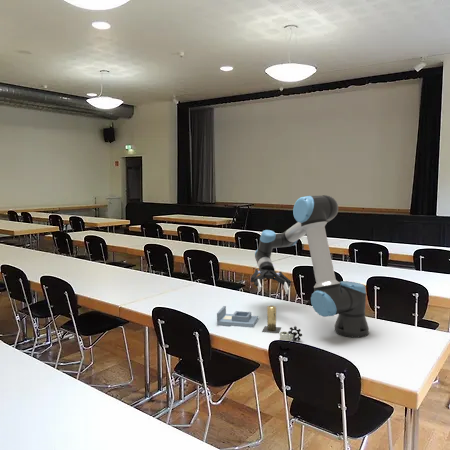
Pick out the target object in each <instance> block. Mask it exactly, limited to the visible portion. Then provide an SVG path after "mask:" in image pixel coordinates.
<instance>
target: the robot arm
mask: <svg viewBox="0 0 450 450" xmlns="http://www.w3.org/2000/svg"><path fill="white" fill-rule="evenodd" d="M292 212H293V217H294V219H295V221H296V223H295V224H293V225H292V226H291V227H289V228H288V229H286V230H285V231H284V232H281V233H280V232H279V233H276V232H275V231H274V230H270V229H265V230H264V229H263V230H262V232H261V234H260V237H259V243H258V248H257V249H256V250H255V251H254V258H255V261H256V264H257V266H258V268H255V269H254V270H255V271H254V272H253V274H252V275H251V277H250V283H253V285H255V287H257V290H258V292H261V289H262V284H261V280H264V279H270V280H273V281H276V282H278V283H279V284H281V285H283V289H284V291H285V294H286V295H289V290H290V287H291V285H292V280H291V279H290V278H288V277H287V276H285V275H284V274H283V273H282V271H279V272H276V271H275V267H274V265H273V262H272V259H271V256H272V253H273V249H277V248H287V247H292V246H295V245H296V244H297V243H298V240H299V239H301V238H303V237H304V236H306V239H307V243H308V248H309V253H310V258H311V263H312V267H313V274H314V278H315V282H316V283H315V284H314V286H313V290H314V291H313V293H311V296H310V303H311V307H312V308H313V310H314V311H315V312H316V313H317V315H319V316H321V317H324V318H325V317H333V316H335V315H338V316H337V318H336V321H335V324H334V332H335V333H336V334H338V335H340V336H343V337H348V338H362V337H367V336H368V335H369V333H370V332H369V330H370V328H369V324H368V322H367V318H366V297H367V296H366V295H367V291H366V286H365V285H364V284H363V283H360V282H355V281H349V280H348V281H347V280H342V281H338V280H337V279H336V275H335V270H334V265H333V264H334V263H333V260H332V256H331V251H330V246H329V241H328V238H327V231H326V225H327V223H329V222H330V221H332V220H333V219H335V217H336V216H337V215H338V213H339V203H338V202H337V200H336V199H335V198H334V197H332V196H330V195H326V194H324V195H306V196H301V197H299V198H298V199H297V200H296V201H295V202H294V205H293V210H292ZM258 269H259V270H258Z"/></svg>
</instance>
